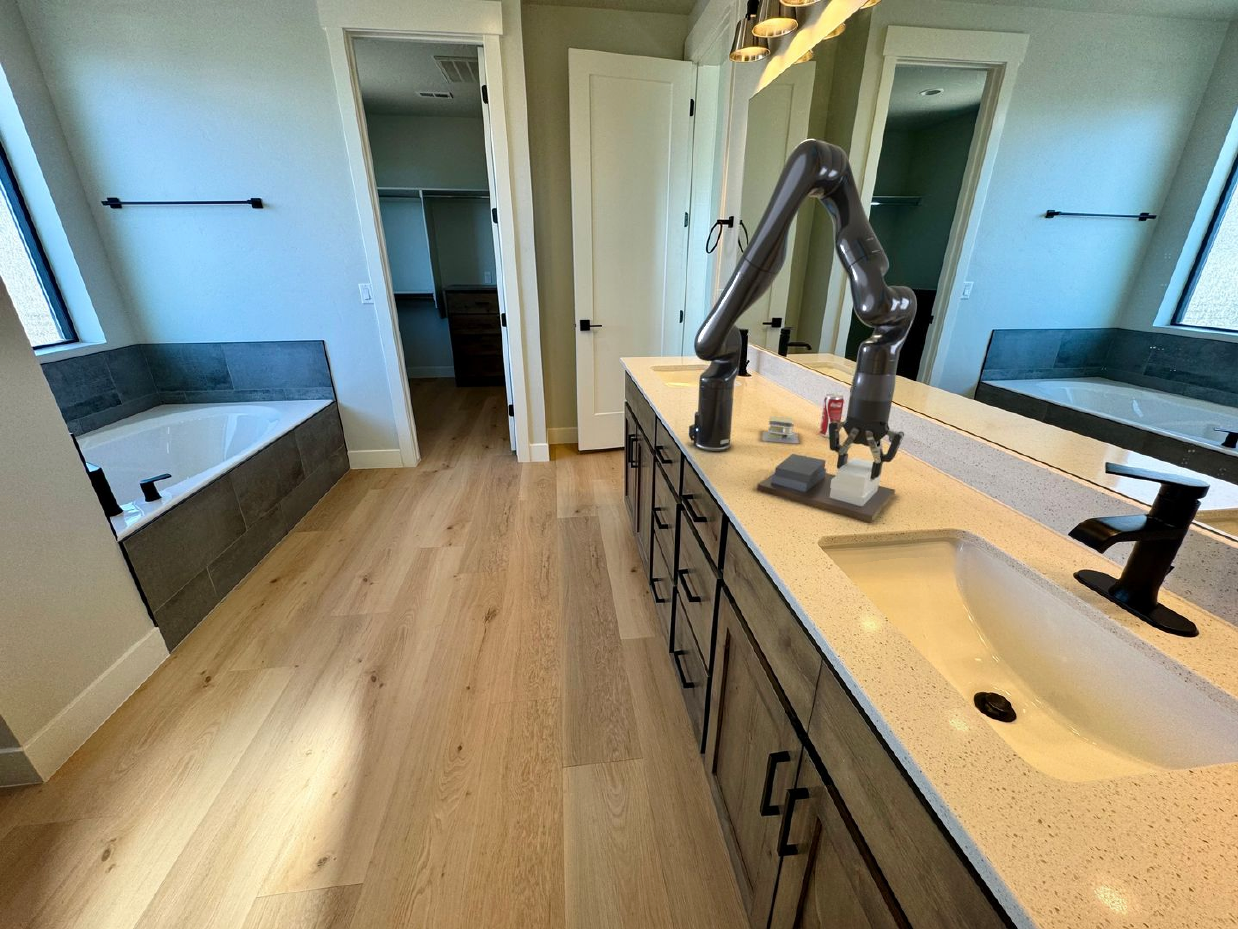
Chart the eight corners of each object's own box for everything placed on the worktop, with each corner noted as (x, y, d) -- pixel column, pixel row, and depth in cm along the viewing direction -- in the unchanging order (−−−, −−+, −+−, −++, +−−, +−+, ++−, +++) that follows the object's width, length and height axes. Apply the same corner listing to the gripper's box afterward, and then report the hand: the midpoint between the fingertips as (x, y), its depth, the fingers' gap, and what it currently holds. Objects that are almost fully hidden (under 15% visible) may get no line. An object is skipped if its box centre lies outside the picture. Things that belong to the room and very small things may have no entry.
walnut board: (756, 490, 110) (757, 483, 109) (787, 469, 121) (788, 463, 120) (871, 523, 95) (872, 516, 94) (894, 495, 106) (895, 489, 105)
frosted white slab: (834, 480, 100) (836, 470, 100) (851, 466, 107) (852, 457, 106) (863, 487, 97) (865, 477, 96) (878, 472, 104) (880, 463, 103)
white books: (828, 497, 102) (830, 479, 101) (844, 482, 109) (847, 465, 108) (862, 506, 98) (866, 488, 97) (878, 490, 105) (881, 473, 104)
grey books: (770, 483, 110) (772, 466, 108) (791, 468, 117) (793, 452, 116) (807, 493, 104) (809, 475, 103) (826, 477, 112) (829, 460, 111)
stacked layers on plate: (761, 440, 141) (763, 422, 139) (762, 431, 149) (764, 414, 147) (798, 443, 138) (801, 425, 136) (797, 434, 146) (799, 416, 144)
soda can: (817, 432, 148) (822, 392, 143) (835, 432, 147) (841, 393, 142) (821, 437, 143) (827, 397, 138) (840, 438, 142) (846, 397, 138)
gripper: (917, 396, 94) (900, 477, 100) (840, 386, 103) (828, 461, 109) (907, 404, 89) (889, 489, 95) (826, 393, 98) (815, 471, 104)
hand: (857, 474), depth 102 cm, fingers closed on frosted white slab, 5 cm apart
